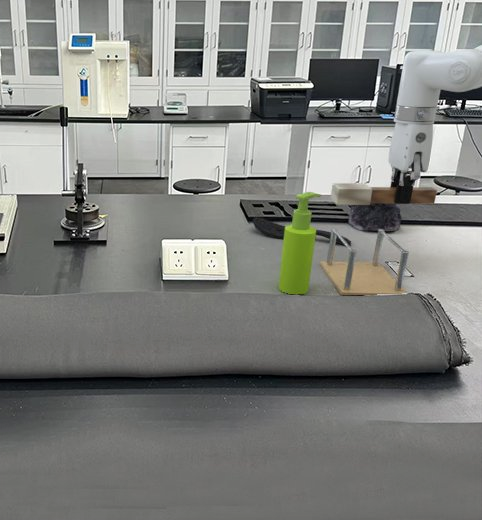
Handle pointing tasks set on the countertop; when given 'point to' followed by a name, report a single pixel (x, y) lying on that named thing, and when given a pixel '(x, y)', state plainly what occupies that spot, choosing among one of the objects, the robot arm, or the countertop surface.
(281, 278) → the soap dispenser
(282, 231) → the hairbrush
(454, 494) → the countertop surface
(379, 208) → the crystal cluster
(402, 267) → the wire rack
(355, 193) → the cleaning brush
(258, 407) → the countertop surface
